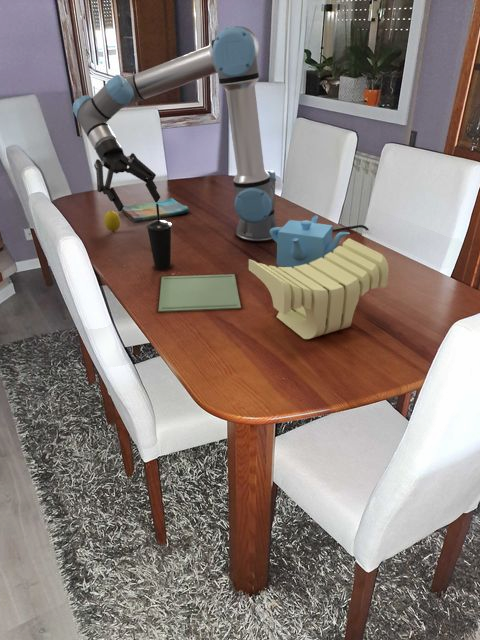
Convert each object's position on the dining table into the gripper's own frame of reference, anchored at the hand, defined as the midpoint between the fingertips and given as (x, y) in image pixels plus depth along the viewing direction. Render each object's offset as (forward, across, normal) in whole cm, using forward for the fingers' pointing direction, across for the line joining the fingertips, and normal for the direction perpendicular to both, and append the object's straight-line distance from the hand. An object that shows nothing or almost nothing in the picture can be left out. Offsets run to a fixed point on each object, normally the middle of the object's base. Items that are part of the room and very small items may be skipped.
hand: (140, 204), depth 160 cm
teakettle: (+42, -32, +16) cm, 55 cm away
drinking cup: (+19, 0, -7) cm, 20 cm away
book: (-14, -32, -39) cm, 53 cm away
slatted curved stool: (+59, -5, +33) cm, 68 cm away
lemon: (-8, -7, -34) cm, 35 cm away
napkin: (+34, +4, +9) cm, 35 cm away
